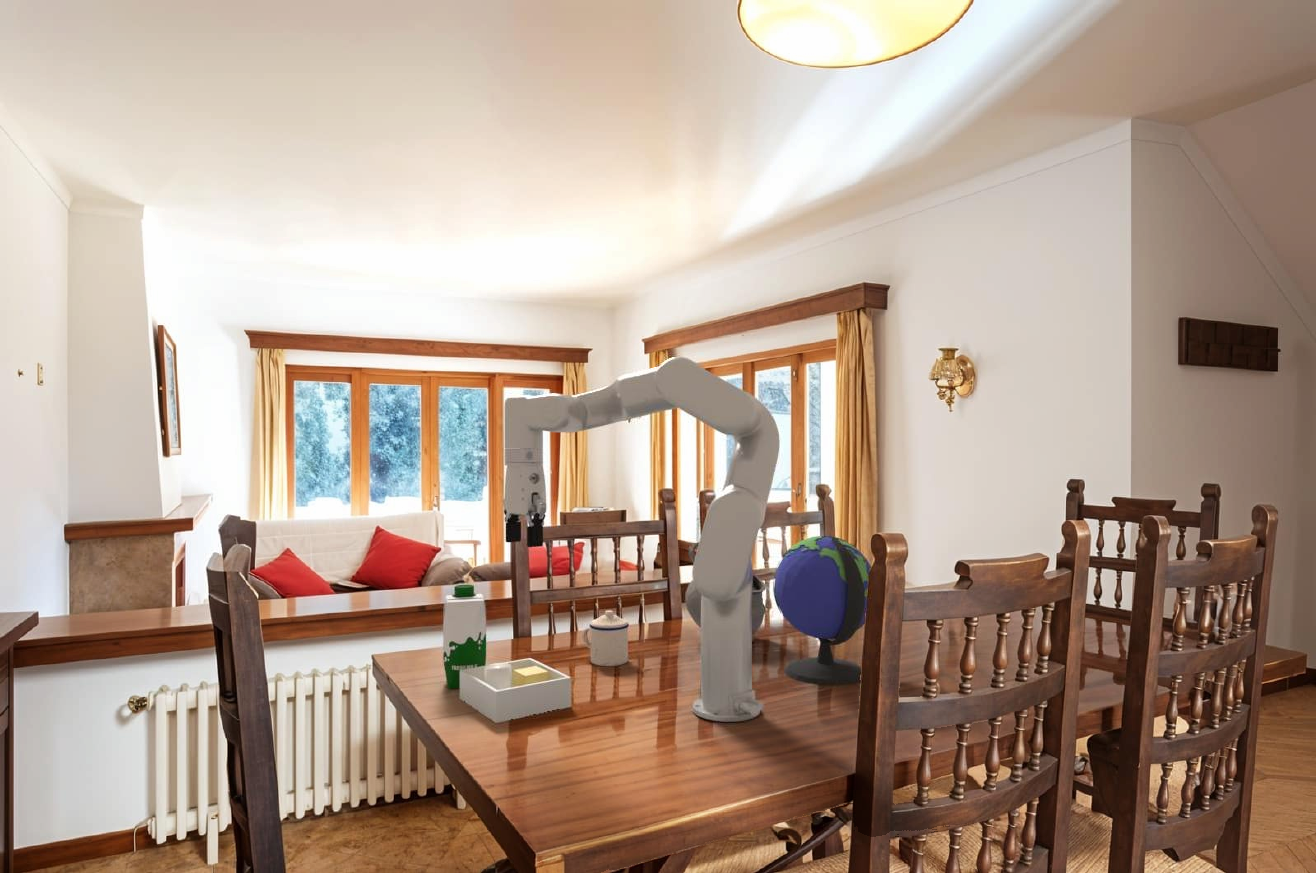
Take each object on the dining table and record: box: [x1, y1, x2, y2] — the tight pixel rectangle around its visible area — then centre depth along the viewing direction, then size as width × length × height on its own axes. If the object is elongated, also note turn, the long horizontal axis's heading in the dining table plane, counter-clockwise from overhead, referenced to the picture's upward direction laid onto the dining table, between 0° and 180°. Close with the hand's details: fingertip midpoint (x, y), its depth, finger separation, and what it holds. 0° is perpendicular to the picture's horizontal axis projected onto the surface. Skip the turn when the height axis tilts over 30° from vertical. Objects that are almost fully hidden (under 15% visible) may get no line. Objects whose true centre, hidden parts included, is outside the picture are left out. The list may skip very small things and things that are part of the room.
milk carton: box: [442, 584, 487, 690], centre depth 169 cm, size 9×9×20 cm
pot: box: [684, 541, 767, 642], centre depth 205 cm, size 21×21×25 cm
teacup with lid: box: [582, 609, 630, 667], centre depth 186 cm, size 12×9×12 cm
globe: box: [772, 535, 872, 686], centre depth 176 cm, size 22×22×30 cm
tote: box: [459, 657, 572, 724], centre depth 156 cm, size 17×15×6 cm
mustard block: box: [513, 666, 548, 687], centre depth 158 cm, size 5×5×5 cm
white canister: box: [485, 662, 511, 690], centre depth 154 cm, size 5×5×7 cm
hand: (523, 544), depth 160 cm, fingers open, 9 cm apart
